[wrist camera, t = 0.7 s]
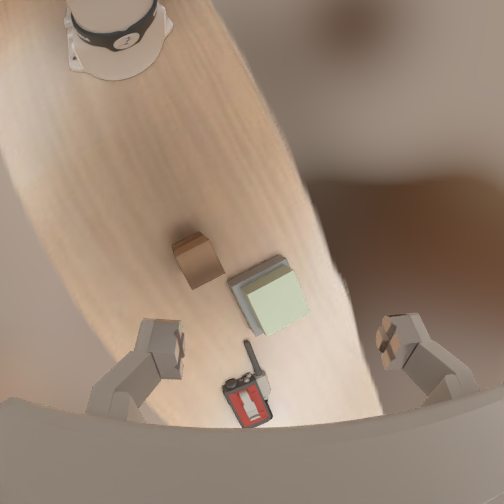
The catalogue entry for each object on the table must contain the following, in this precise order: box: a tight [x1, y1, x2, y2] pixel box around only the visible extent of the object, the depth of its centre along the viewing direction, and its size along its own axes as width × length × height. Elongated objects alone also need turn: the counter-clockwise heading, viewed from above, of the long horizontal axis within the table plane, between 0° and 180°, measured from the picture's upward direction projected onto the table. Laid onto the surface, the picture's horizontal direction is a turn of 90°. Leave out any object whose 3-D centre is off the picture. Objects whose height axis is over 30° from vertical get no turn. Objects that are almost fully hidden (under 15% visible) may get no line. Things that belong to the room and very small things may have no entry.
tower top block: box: [241, 265, 310, 337], centre depth 51 cm, size 8×8×4 cm
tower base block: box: [227, 255, 290, 337], centre depth 55 cm, size 10×10×4 cm
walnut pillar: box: [172, 232, 225, 290], centre depth 47 cm, size 5×5×10 cm
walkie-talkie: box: [222, 341, 273, 428], centre depth 57 cm, size 9×4×20 cm
